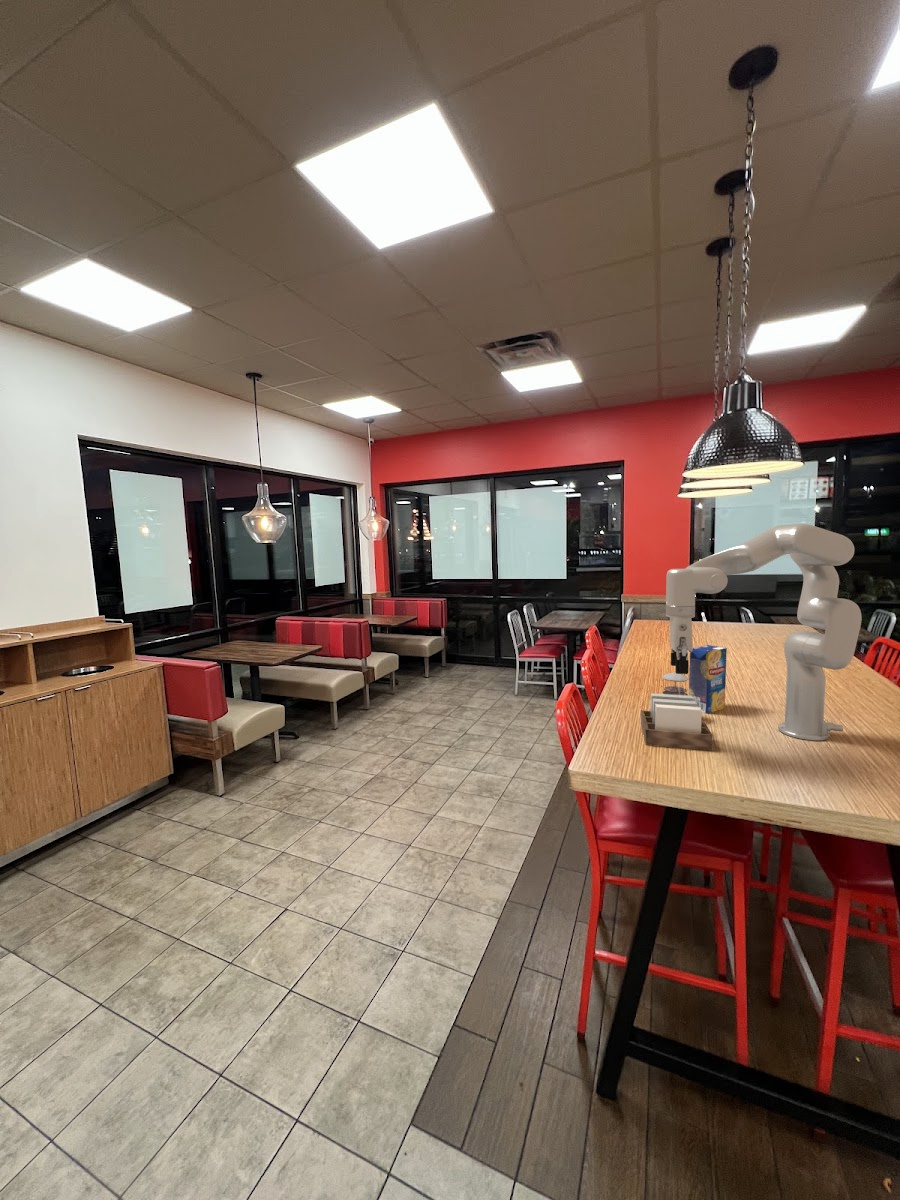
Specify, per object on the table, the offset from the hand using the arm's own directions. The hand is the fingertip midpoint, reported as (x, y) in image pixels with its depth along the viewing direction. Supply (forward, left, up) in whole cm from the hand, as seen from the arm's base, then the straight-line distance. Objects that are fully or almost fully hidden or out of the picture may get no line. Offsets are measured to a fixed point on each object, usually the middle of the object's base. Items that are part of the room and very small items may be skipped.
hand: (679, 669), depth 139 cm
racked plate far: (0, -11, -22) cm, 25 cm away
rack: (0, -6, -22) cm, 23 cm away
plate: (0, 0, -21) cm, 21 cm away
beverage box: (-15, -37, -23) cm, 45 cm away
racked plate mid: (0, -6, -22) cm, 23 cm away
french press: (-3, -24, -23) cm, 33 cm away
